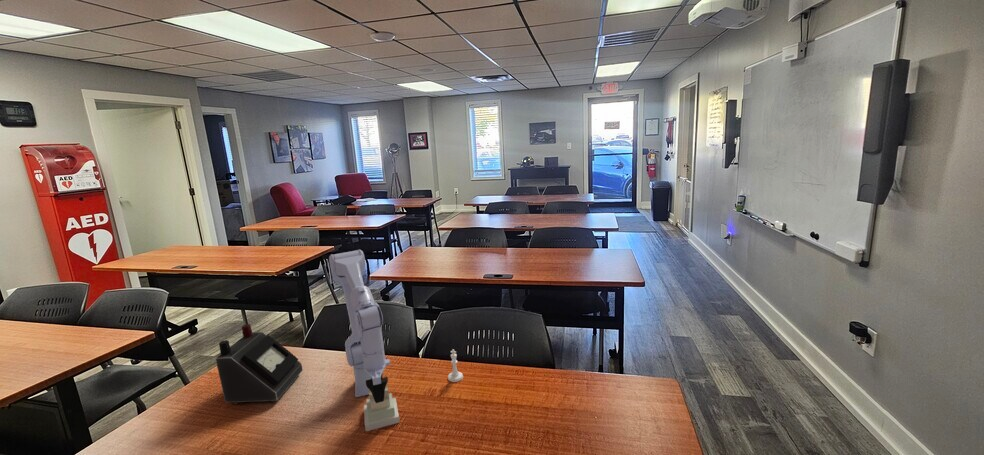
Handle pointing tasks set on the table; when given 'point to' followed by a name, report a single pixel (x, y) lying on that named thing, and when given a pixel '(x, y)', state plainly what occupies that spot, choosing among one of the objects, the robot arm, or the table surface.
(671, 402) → the table surface
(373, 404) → the maple cube
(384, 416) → the tower top
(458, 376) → the chess piece
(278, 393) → the voltmeter
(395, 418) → the tower base
